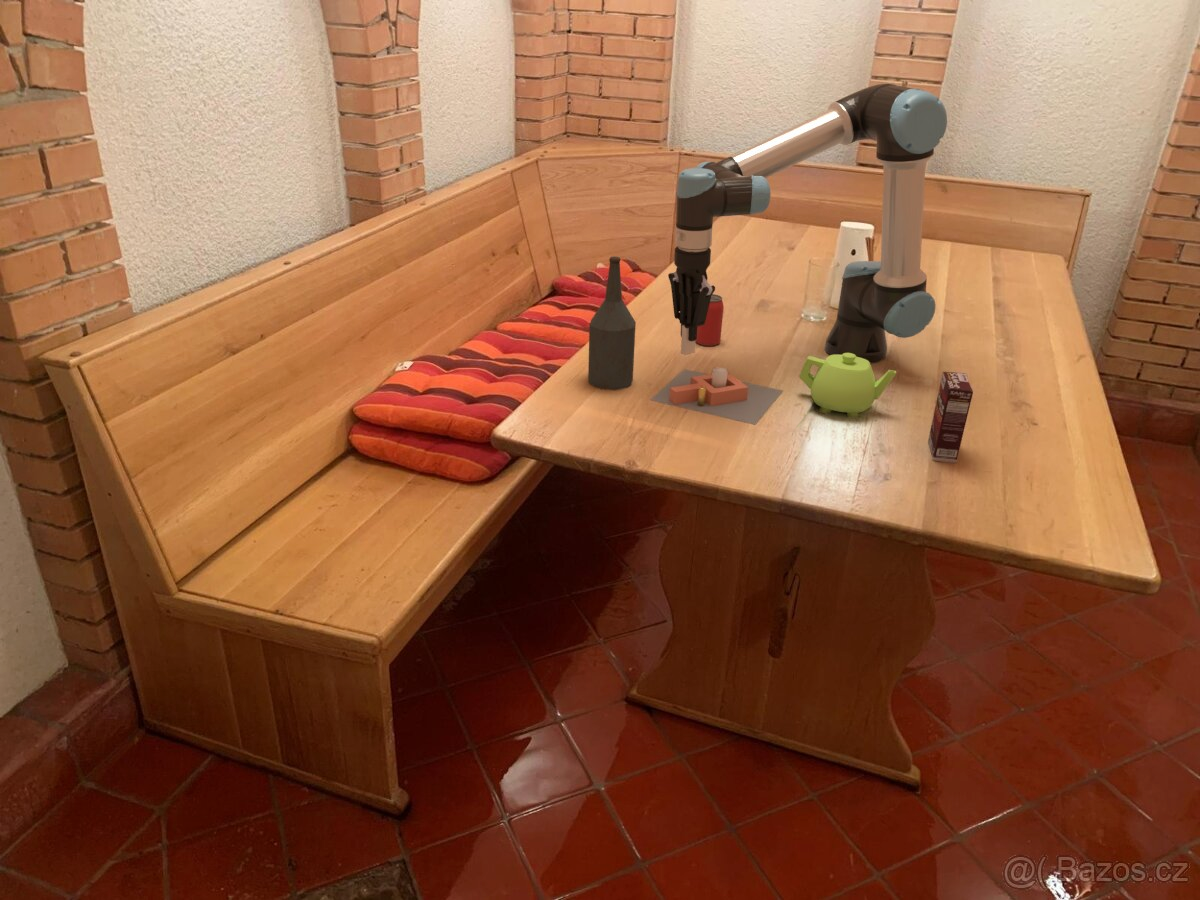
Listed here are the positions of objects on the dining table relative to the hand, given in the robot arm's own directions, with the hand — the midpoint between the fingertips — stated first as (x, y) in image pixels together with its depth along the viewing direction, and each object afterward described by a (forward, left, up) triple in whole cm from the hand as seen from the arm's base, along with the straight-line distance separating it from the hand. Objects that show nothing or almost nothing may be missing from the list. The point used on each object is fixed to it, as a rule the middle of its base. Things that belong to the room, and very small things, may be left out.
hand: (687, 352), depth 199 cm
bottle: (+16, +5, -10) cm, 20 cm away
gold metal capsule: (-6, +6, -9) cm, 12 cm away
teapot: (-33, -11, -10) cm, 36 cm away
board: (-8, 0, -10) cm, 13 cm away
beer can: (+7, -33, -10) cm, 36 cm away
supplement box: (-56, 0, -10) cm, 57 cm away
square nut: (-5, +2, -9) cm, 10 cm away
